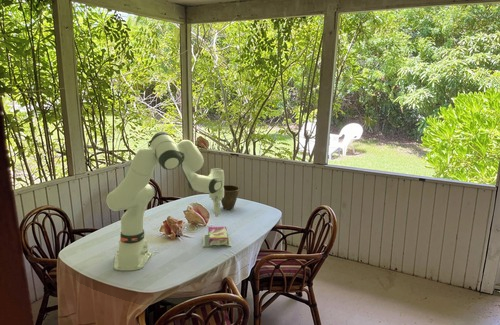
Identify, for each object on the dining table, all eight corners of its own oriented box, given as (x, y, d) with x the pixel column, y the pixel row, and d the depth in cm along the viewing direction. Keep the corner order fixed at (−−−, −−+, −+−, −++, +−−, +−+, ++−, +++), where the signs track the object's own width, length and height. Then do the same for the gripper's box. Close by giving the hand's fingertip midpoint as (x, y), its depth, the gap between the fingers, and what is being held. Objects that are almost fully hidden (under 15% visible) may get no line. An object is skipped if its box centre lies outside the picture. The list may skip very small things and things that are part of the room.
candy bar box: (226, 225, 217) (228, 237, 202) (225, 233, 219) (228, 245, 203) (207, 226, 216) (209, 238, 200) (207, 233, 217) (209, 246, 201)
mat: (230, 246, 202) (230, 245, 202) (203, 247, 200) (203, 246, 200) (229, 234, 218) (229, 234, 217) (203, 235, 216) (203, 234, 215)
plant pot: (230, 203, 273) (231, 184, 270) (242, 209, 262) (243, 188, 259) (214, 207, 264) (214, 187, 260) (226, 213, 253) (226, 192, 249)
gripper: (222, 199, 200) (222, 222, 203) (221, 189, 220) (220, 209, 223) (211, 199, 200) (211, 222, 203) (211, 189, 219) (210, 209, 222)
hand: (216, 215), depth 213 cm, fingers closed
